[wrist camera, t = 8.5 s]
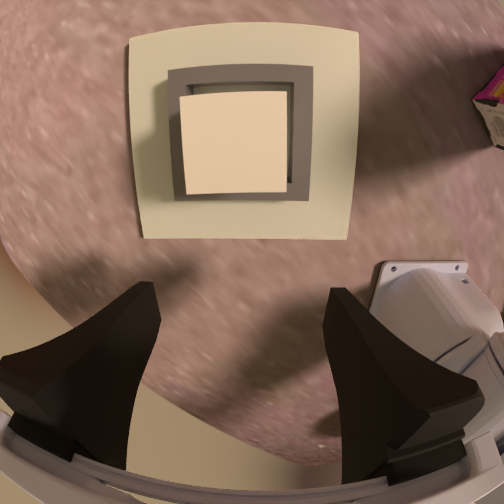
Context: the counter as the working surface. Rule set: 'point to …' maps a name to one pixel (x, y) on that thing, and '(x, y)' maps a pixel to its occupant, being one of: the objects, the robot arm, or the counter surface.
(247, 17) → the counter surface
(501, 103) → the candy bar box
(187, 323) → the counter surface
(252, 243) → the counter surface
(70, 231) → the counter surface
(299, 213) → the charging dock
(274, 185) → the block
